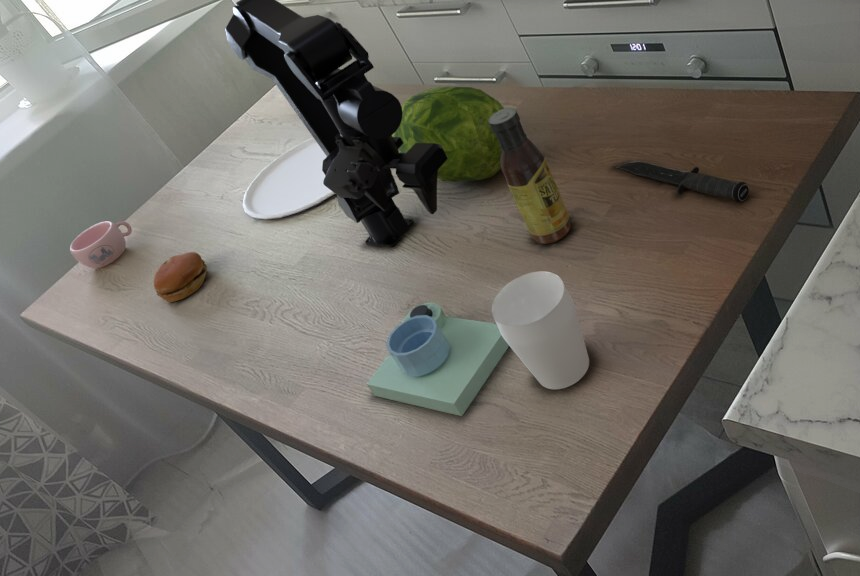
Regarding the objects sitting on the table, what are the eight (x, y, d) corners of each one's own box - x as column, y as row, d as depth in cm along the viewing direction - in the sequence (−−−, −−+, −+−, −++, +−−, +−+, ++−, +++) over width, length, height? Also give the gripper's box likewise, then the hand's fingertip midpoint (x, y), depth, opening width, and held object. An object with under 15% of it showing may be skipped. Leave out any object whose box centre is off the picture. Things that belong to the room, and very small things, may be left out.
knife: (754, 187, 112) (743, 179, 111) (737, 219, 113) (726, 211, 111) (634, 146, 130) (623, 138, 129) (620, 173, 131) (609, 166, 129)
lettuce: (438, 139, 159) (401, 67, 149) (544, 150, 141) (509, 69, 132) (386, 189, 152) (344, 116, 142) (490, 206, 134) (450, 125, 125)
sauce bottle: (569, 242, 120) (517, 125, 108) (529, 249, 122) (474, 135, 110) (576, 213, 124) (528, 98, 112) (537, 220, 127) (486, 108, 115)
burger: (181, 306, 146) (165, 287, 144) (153, 300, 152) (137, 281, 149) (221, 268, 152) (206, 248, 149) (193, 263, 157) (178, 244, 154)
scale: (373, 395, 110) (358, 375, 108) (430, 320, 118) (418, 300, 115) (462, 416, 102) (448, 395, 99) (517, 333, 109) (505, 312, 107)
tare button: (410, 324, 113) (405, 317, 112) (421, 310, 114) (416, 303, 113) (424, 326, 111) (420, 319, 110) (435, 312, 113) (431, 305, 112)
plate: (401, 153, 160) (398, 148, 159) (269, 241, 153) (265, 236, 152) (346, 118, 182) (344, 113, 181) (229, 193, 175) (226, 188, 174)
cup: (525, 354, 106) (488, 285, 98) (594, 332, 104) (561, 260, 97) (530, 407, 99) (491, 337, 91) (604, 384, 97) (569, 311, 90)
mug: (93, 280, 167) (72, 258, 164) (83, 265, 174) (63, 243, 171) (146, 244, 171) (127, 222, 167) (134, 230, 178) (116, 208, 175)
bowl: (392, 375, 108) (376, 351, 105) (422, 335, 112) (407, 312, 109) (431, 383, 104) (415, 359, 102) (461, 342, 108) (446, 317, 105)
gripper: (270, 154, 110) (330, 243, 119) (370, 157, 99) (426, 255, 109) (323, 104, 116) (376, 193, 125) (423, 102, 105) (472, 199, 115)
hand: (409, 210), depth 118 cm, fingers open, 9 cm apart
